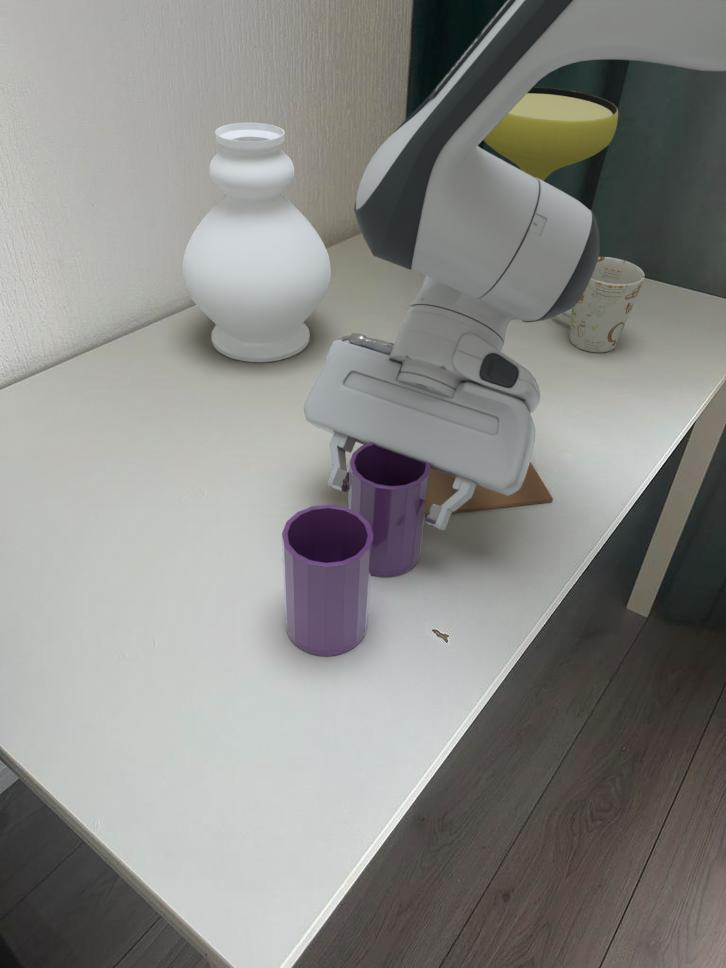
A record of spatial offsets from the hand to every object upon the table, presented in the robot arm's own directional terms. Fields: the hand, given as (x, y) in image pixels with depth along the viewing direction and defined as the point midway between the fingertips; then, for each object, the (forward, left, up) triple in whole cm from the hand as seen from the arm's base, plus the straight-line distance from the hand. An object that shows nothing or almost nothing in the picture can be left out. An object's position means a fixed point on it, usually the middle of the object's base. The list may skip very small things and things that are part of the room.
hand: (384, 507), depth 66 cm
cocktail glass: (-32, -52, -6) cm, 62 cm away
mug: (-35, -36, -6) cm, 51 cm away
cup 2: (0, 0, -5) cm, 6 cm away
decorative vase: (+7, -41, -6) cm, 42 cm away
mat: (-10, -12, -5) cm, 17 cm away
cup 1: (+6, +7, -5) cm, 11 cm away
